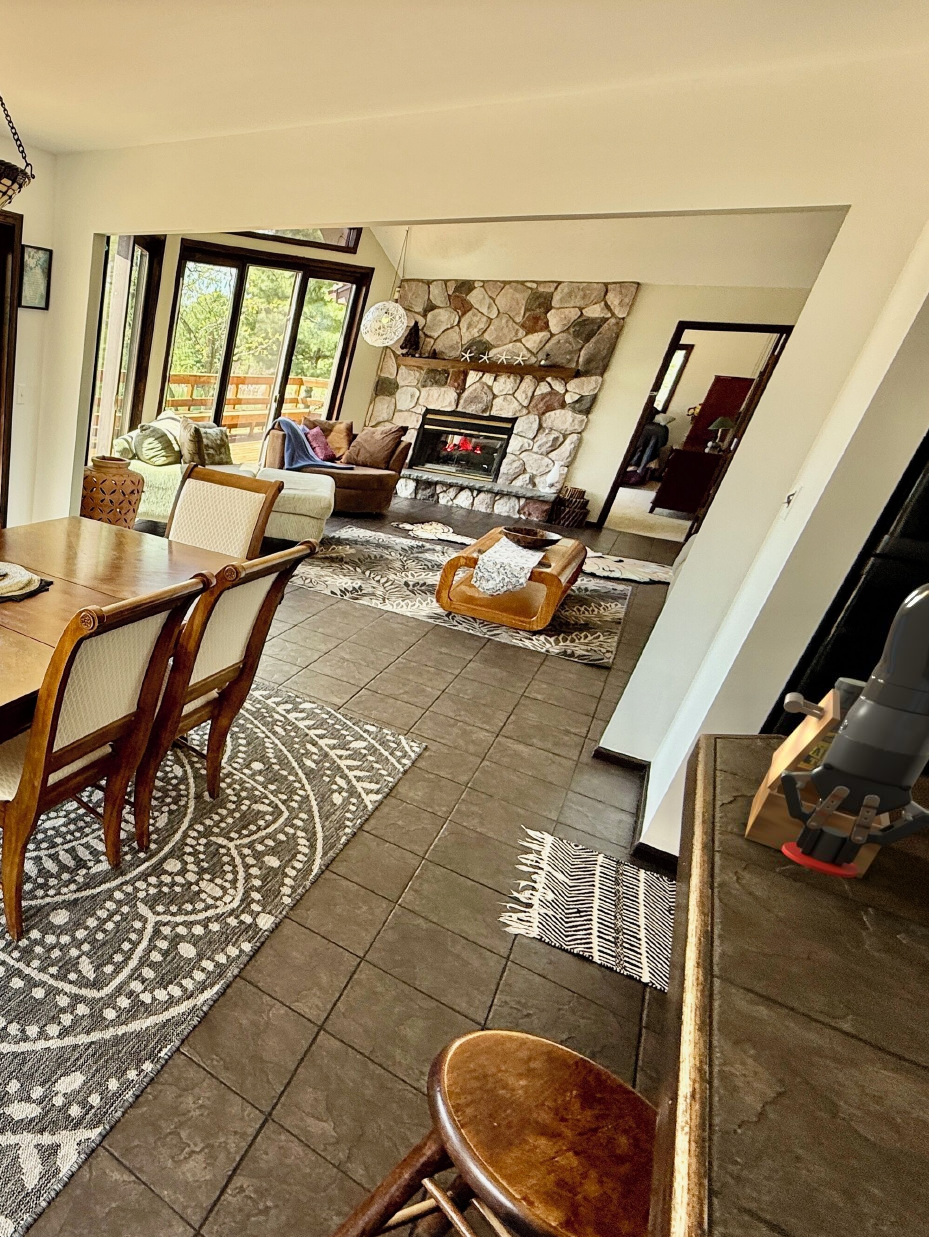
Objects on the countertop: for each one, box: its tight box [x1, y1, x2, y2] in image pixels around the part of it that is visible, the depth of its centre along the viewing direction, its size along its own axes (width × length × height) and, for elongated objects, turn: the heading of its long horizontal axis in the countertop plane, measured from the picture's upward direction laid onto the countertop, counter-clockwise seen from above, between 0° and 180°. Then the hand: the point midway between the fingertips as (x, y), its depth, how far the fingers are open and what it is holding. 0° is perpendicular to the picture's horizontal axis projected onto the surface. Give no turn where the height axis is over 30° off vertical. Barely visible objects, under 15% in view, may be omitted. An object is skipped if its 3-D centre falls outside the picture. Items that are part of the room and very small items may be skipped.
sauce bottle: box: [799, 677, 867, 769], centre depth 112 cm, size 7×6×20 cm
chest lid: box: [767, 688, 840, 791], centre depth 101 cm, size 12×17×5 cm
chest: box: [744, 765, 891, 880], centre depth 101 cm, size 12×17×8 cm
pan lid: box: [781, 826, 858, 879], centre depth 89 cm, size 7×7×5 cm
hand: (820, 856), depth 90 cm, fingers closed on pan lid, 2 cm apart
